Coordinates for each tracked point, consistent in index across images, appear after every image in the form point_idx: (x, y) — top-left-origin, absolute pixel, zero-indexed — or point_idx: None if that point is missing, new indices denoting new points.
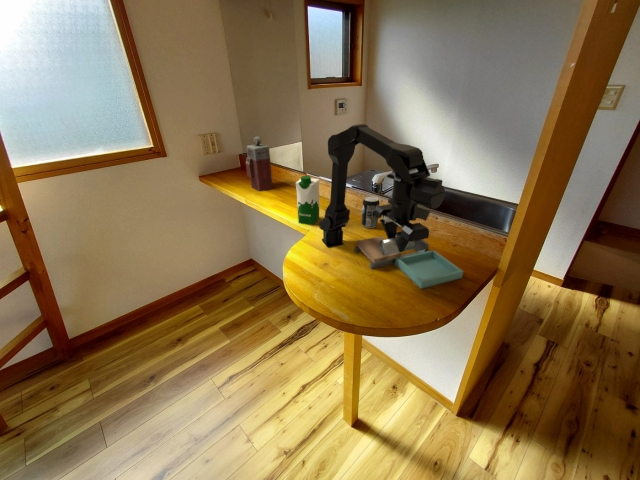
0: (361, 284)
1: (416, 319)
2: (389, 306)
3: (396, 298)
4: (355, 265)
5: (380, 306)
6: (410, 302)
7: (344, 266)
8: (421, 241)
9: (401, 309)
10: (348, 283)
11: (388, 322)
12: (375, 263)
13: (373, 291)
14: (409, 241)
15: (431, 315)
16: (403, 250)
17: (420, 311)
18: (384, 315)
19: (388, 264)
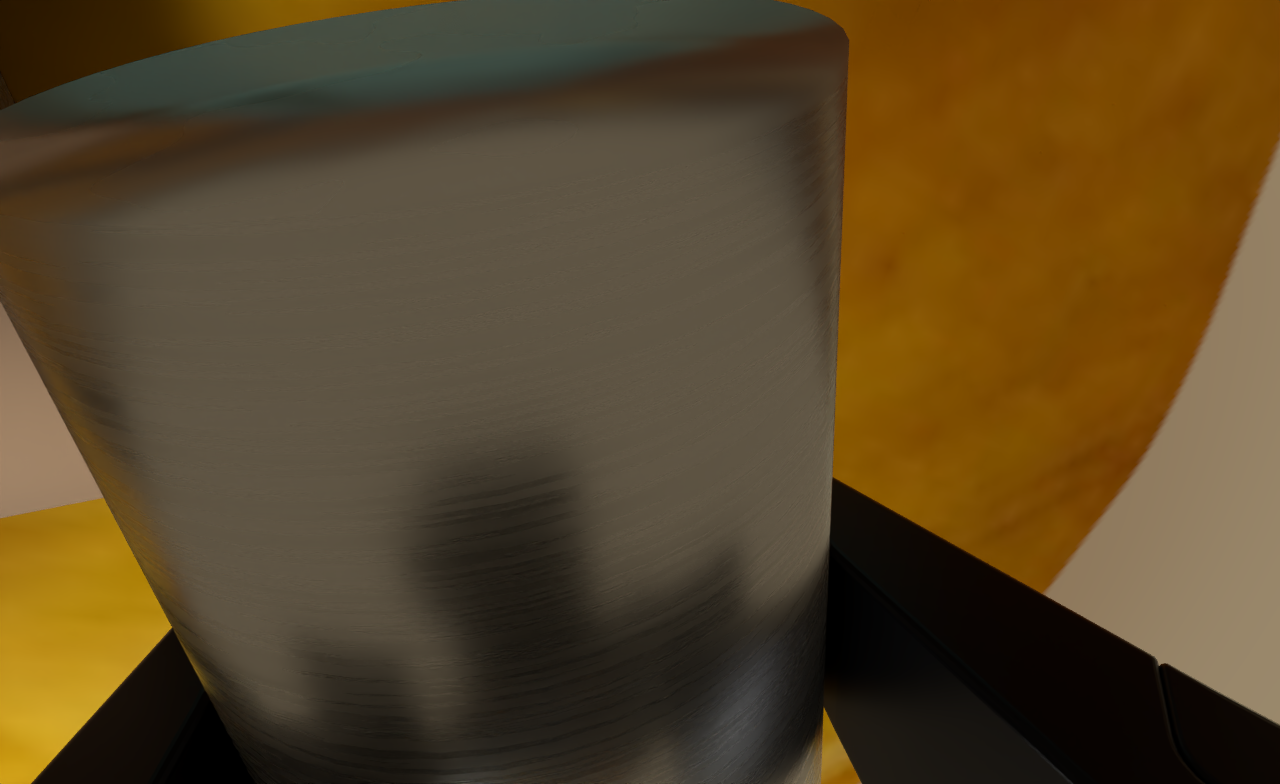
0: None
1: (1205, 221)
2: (936, 403)
3: (863, 292)
4: (42, 578)
5: (899, 480)
6: (989, 161)
7: (76, 694)
8: None
9: (1026, 307)
10: None
11: (1091, 469)
12: None
13: None
14: (813, 380)
15: (1264, 24)
16: (840, 488)
17: (1153, 119)
18: (1011, 477)
19: (1, 86)
